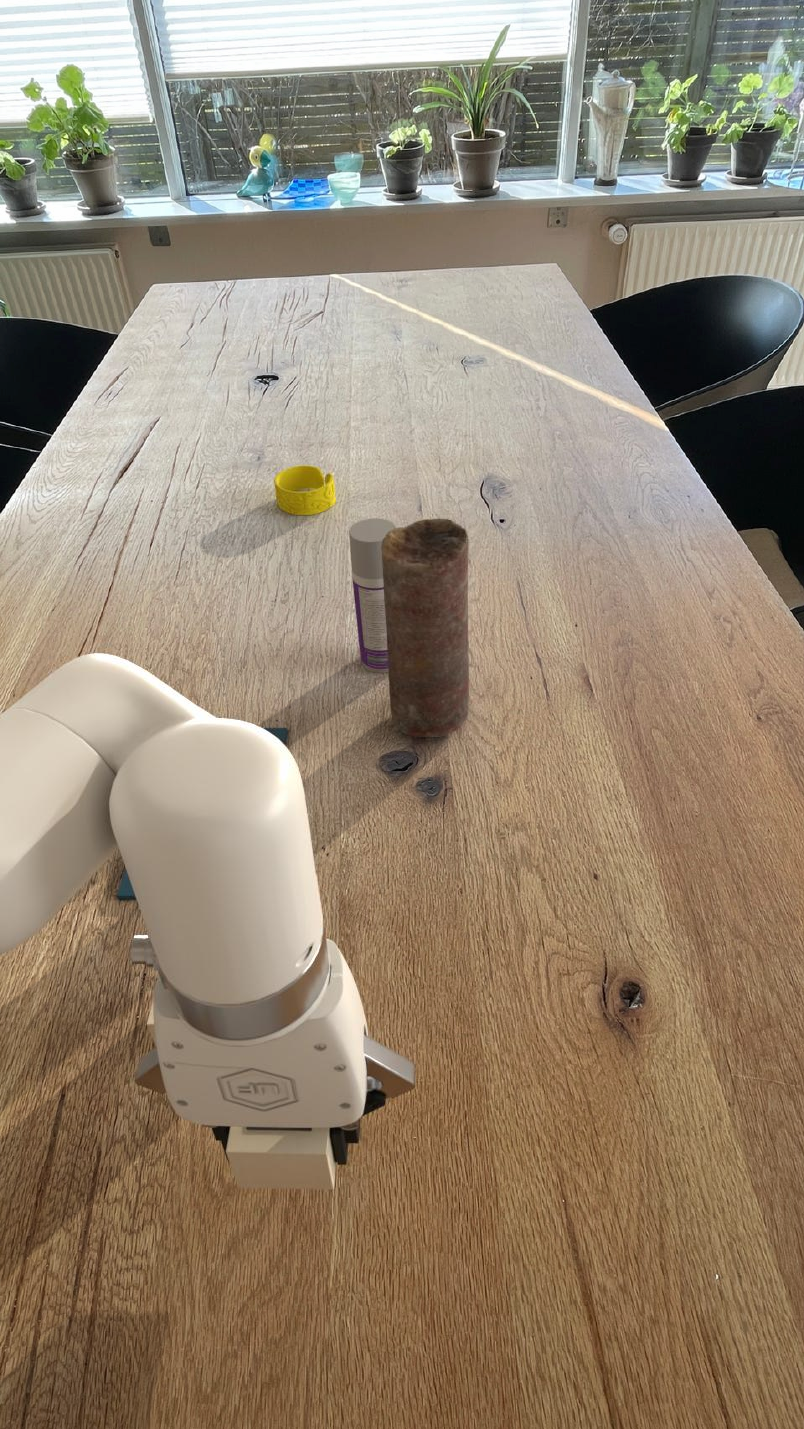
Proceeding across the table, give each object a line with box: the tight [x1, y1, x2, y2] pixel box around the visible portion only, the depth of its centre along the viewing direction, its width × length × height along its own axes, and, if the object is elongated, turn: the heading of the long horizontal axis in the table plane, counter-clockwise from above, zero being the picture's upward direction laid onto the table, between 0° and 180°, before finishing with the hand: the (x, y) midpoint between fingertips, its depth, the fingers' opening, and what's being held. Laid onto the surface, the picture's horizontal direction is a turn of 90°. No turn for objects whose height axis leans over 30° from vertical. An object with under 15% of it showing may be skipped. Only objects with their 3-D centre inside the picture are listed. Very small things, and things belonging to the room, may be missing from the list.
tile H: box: [226, 1126, 337, 1191], centre depth 55 cm, size 6×6×5 cm
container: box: [348, 517, 397, 674], centre depth 93 cm, size 5×5×15 cm
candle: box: [381, 518, 470, 738], centre depth 83 cm, size 8×7×20 cm
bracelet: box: [273, 464, 337, 516], centre depth 124 cm, size 7×8×3 cm
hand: (290, 1136), depth 56 cm, fingers closed on tile H, 5 cm apart
